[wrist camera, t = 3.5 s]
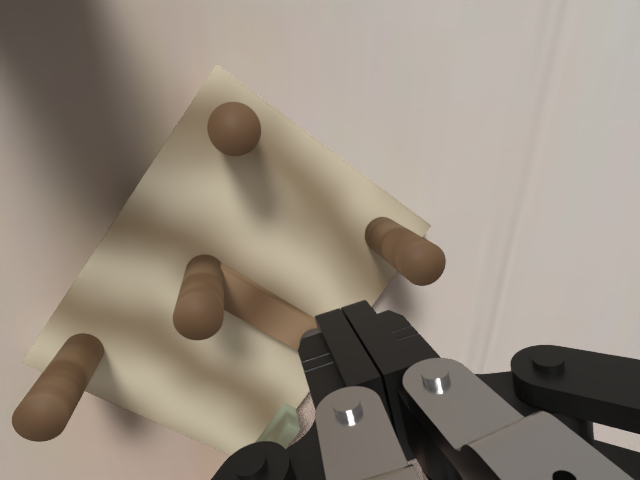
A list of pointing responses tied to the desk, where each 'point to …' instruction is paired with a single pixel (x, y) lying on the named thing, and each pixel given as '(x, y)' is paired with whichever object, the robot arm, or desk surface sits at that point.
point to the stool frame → (233, 251)
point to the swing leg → (234, 304)
